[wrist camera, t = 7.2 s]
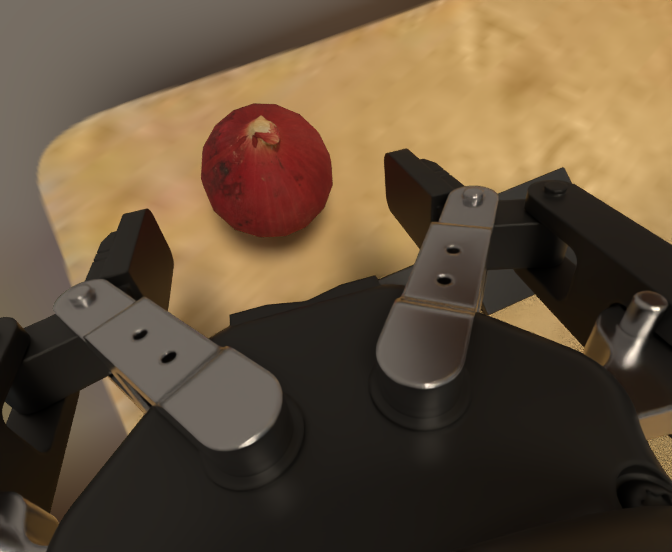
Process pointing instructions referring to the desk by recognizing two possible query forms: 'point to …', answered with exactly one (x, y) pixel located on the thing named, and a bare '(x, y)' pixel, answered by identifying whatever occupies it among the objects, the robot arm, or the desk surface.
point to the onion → (266, 170)
